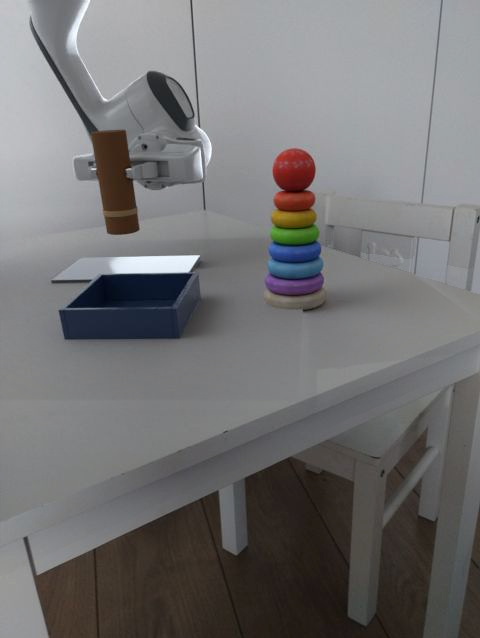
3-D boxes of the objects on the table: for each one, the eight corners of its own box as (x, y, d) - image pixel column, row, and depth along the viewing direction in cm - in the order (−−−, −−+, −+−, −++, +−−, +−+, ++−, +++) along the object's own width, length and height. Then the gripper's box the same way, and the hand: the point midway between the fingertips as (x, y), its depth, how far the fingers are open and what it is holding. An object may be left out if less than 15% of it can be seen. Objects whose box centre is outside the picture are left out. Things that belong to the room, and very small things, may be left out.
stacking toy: (333, 309, 70) (335, 150, 62) (270, 316, 69) (263, 154, 61) (317, 289, 77) (317, 144, 70) (259, 295, 76) (253, 147, 69)
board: (52, 286, 84) (50, 280, 83) (82, 263, 95) (80, 257, 94) (185, 284, 82) (185, 277, 82) (200, 261, 93) (200, 255, 92)
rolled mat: (101, 235, 83) (84, 133, 77) (112, 227, 88) (96, 130, 82) (135, 234, 83) (120, 131, 77) (144, 226, 87) (130, 129, 81)
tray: (65, 344, 64) (58, 310, 63) (104, 303, 76) (99, 273, 74) (180, 343, 63) (176, 308, 61) (201, 302, 75) (198, 272, 73)
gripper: (97, 141, 94) (45, 151, 83) (212, 139, 88) (173, 149, 77) (104, 180, 97) (54, 195, 85) (215, 181, 91) (178, 197, 79)
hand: (111, 173), depth 81 cm, fingers closed on rolled mat, 5 cm apart
